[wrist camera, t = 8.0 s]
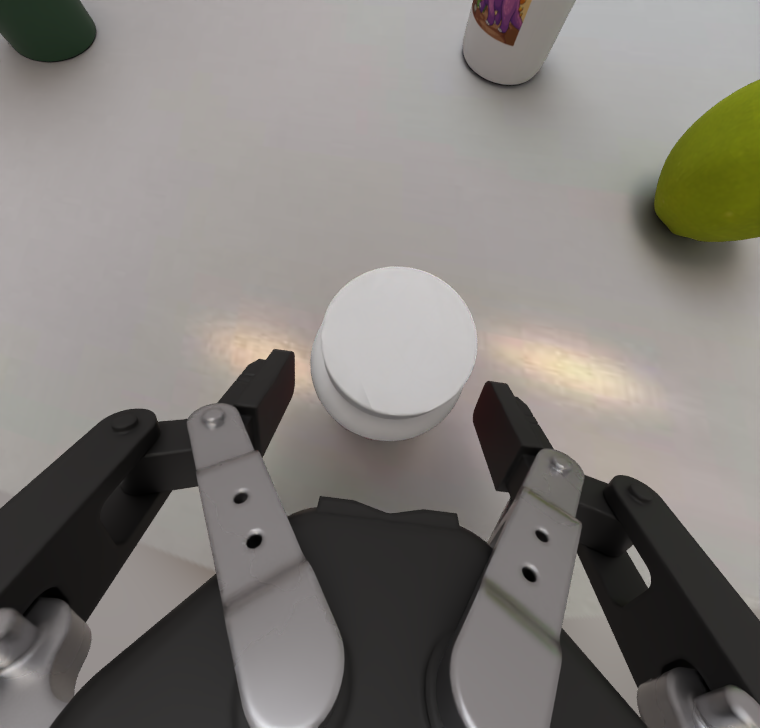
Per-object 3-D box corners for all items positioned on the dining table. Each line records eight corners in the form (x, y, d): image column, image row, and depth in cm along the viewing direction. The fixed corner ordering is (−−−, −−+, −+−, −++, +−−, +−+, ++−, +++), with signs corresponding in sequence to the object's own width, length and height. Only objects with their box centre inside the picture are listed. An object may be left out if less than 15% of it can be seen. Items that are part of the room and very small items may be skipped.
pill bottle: (437, 370, 20) (531, 296, 9) (399, 455, 18) (457, 486, 8) (356, 330, 20) (355, 212, 9) (311, 411, 19) (249, 380, 8)
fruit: (624, 254, 23) (816, 127, 14) (624, 162, 25) (788, -4, 16) (734, 279, 24) (999, 171, 14) (723, 186, 26) (945, 36, 16)
